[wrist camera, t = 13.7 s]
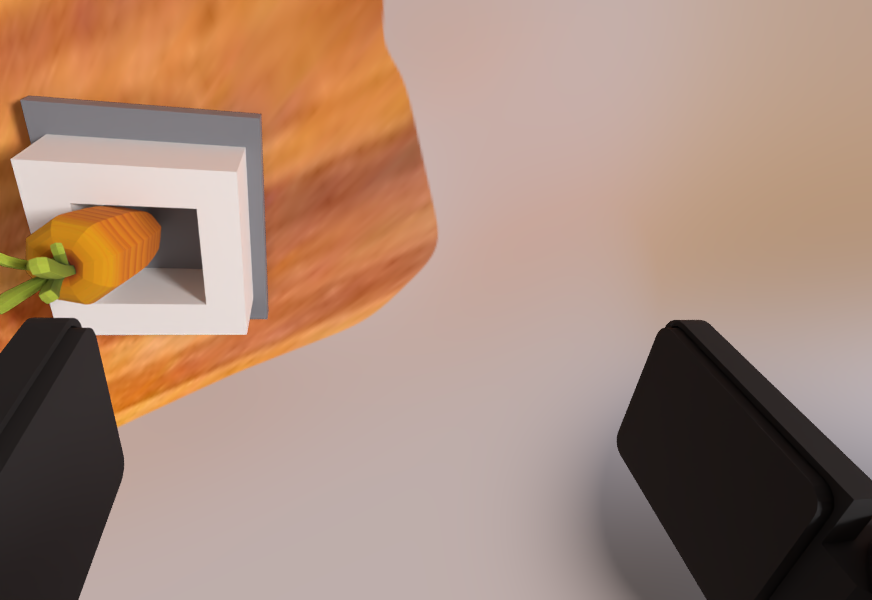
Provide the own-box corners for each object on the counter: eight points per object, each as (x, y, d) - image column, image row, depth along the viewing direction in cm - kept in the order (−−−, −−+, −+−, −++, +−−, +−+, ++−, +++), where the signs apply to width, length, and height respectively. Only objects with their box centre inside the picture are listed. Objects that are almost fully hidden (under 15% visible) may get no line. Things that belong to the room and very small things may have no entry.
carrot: (131, 264, 40) (-15, 347, 26) (106, 196, 39) (-63, 245, 25) (199, 252, 40) (90, 328, 26) (177, 183, 39) (48, 224, 25)
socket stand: (28, 95, 35) (-21, 121, 30) (261, 113, 38) (252, 140, 33) (80, 309, 43) (48, 359, 38) (268, 311, 46) (262, 356, 41)
